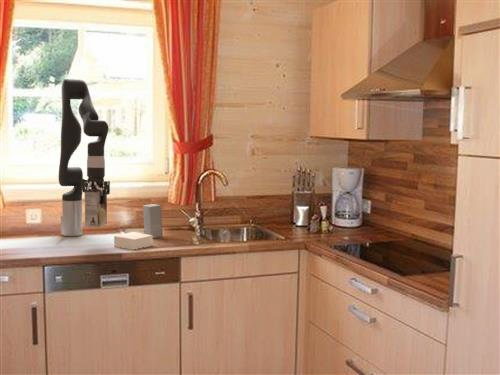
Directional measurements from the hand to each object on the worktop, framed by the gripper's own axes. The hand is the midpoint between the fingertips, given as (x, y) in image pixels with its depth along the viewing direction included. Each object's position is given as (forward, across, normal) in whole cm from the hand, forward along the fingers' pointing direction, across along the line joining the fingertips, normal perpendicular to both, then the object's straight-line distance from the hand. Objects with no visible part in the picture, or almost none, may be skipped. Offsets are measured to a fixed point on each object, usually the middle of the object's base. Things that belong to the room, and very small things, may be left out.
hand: (95, 203), depth 255 cm
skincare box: (+20, +6, +33) cm, 39 cm away
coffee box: (+10, 0, 0) cm, 10 cm away
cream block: (+20, +12, +11) cm, 26 cm away
